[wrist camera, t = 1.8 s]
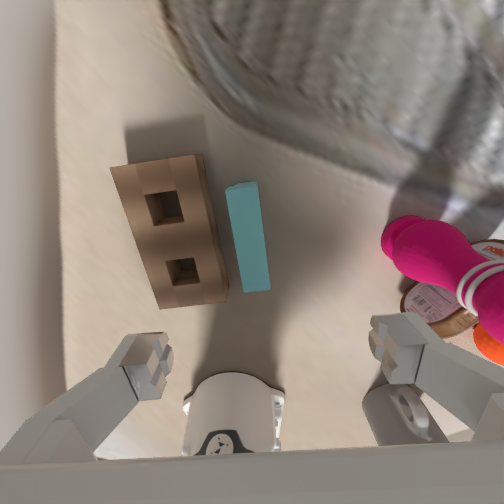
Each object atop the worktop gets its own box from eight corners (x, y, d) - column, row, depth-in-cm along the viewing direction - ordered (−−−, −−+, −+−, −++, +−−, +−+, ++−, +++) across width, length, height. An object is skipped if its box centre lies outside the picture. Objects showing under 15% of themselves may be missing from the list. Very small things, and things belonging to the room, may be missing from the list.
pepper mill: (372, 222, 31) (545, 326, 13) (430, 203, 30) (708, 286, 12) (380, 269, 34) (533, 410, 15) (434, 253, 33) (665, 384, 14)
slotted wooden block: (229, 285, 35) (226, 301, 31) (169, 293, 36) (159, 309, 32) (201, 153, 28) (193, 154, 24) (127, 165, 29) (109, 167, 25)
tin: (398, 311, 37) (437, 354, 29) (385, 300, 36) (422, 341, 28) (491, 241, 32) (566, 270, 24) (478, 227, 31) (553, 252, 24)
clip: (267, 258, 33) (271, 289, 26) (245, 261, 33) (243, 293, 26) (256, 177, 29) (257, 186, 22) (232, 180, 29) (224, 191, 22)
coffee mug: (406, 420, 47) (443, 486, 37) (355, 417, 46) (381, 483, 37) (432, 370, 41) (483, 433, 32) (376, 366, 41) (411, 429, 32)
